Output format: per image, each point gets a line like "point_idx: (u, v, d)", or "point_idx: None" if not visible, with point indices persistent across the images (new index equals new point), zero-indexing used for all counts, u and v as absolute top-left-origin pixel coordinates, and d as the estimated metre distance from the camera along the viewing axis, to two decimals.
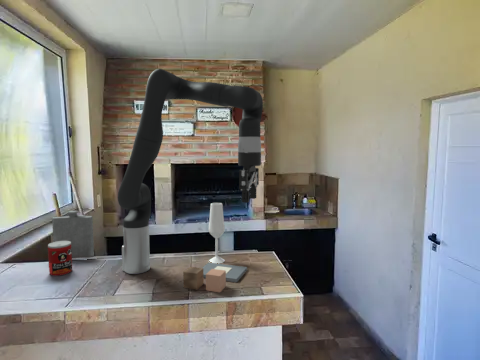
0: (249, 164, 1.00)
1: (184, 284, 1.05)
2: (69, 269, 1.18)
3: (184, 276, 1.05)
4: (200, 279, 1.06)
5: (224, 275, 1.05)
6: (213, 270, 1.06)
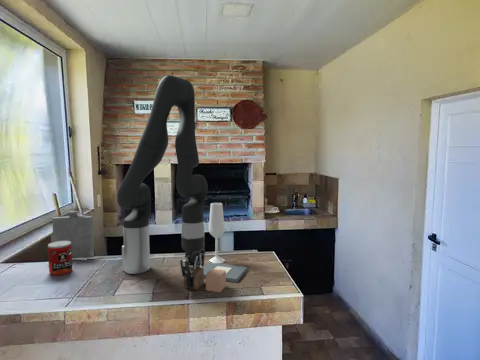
0: (191, 250, 1.02)
1: (184, 284, 1.05)
2: (69, 269, 1.18)
3: None
4: (200, 279, 1.06)
5: (224, 275, 1.05)
6: (213, 270, 1.06)
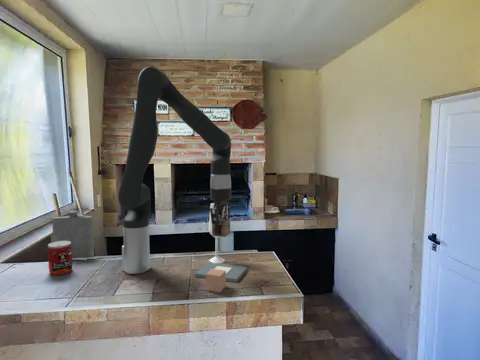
0: (219, 199, 1.11)
1: (213, 232, 1.14)
2: (69, 269, 1.18)
3: (213, 225, 1.14)
4: (227, 228, 1.15)
5: (224, 275, 1.05)
6: (213, 270, 1.06)
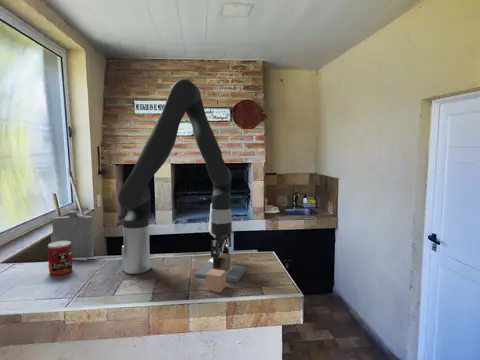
0: (220, 234, 1.13)
1: (213, 268, 1.16)
2: (69, 269, 1.18)
3: (213, 260, 1.16)
4: (228, 263, 1.17)
5: (224, 275, 1.05)
6: (213, 270, 1.06)
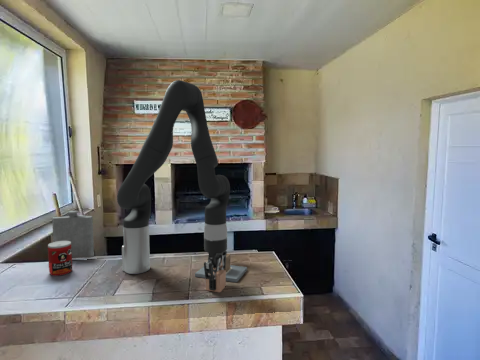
0: (214, 252, 1.00)
1: (213, 268, 1.16)
2: (69, 269, 1.18)
3: None
4: (228, 263, 1.17)
5: (224, 275, 1.05)
6: None
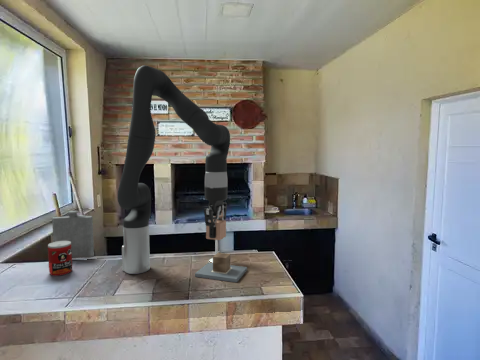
0: (214, 199, 1.01)
1: (213, 268, 1.16)
2: (69, 269, 1.18)
3: (213, 260, 1.16)
4: (228, 263, 1.17)
5: (224, 224, 1.06)
6: None
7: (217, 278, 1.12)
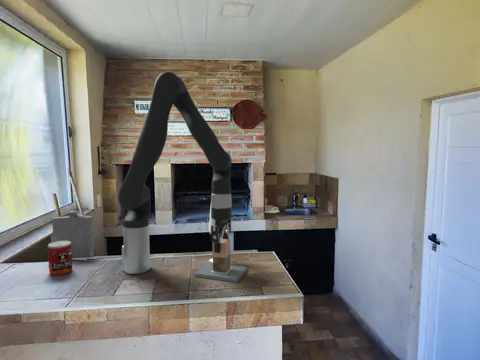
0: (220, 219, 1.12)
1: (213, 268, 1.16)
2: (69, 269, 1.18)
3: (214, 260, 1.16)
4: (228, 263, 1.17)
5: (229, 243, 1.17)
6: None
7: (217, 278, 1.12)
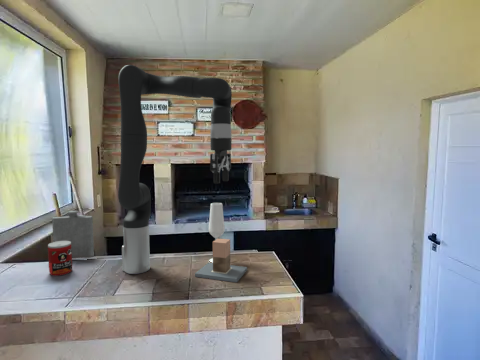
0: (220, 148, 1.10)
1: (213, 268, 1.16)
2: (69, 269, 1.18)
3: (214, 260, 1.16)
4: (228, 263, 1.17)
5: (229, 243, 1.17)
6: (219, 239, 1.18)
7: (217, 278, 1.12)
